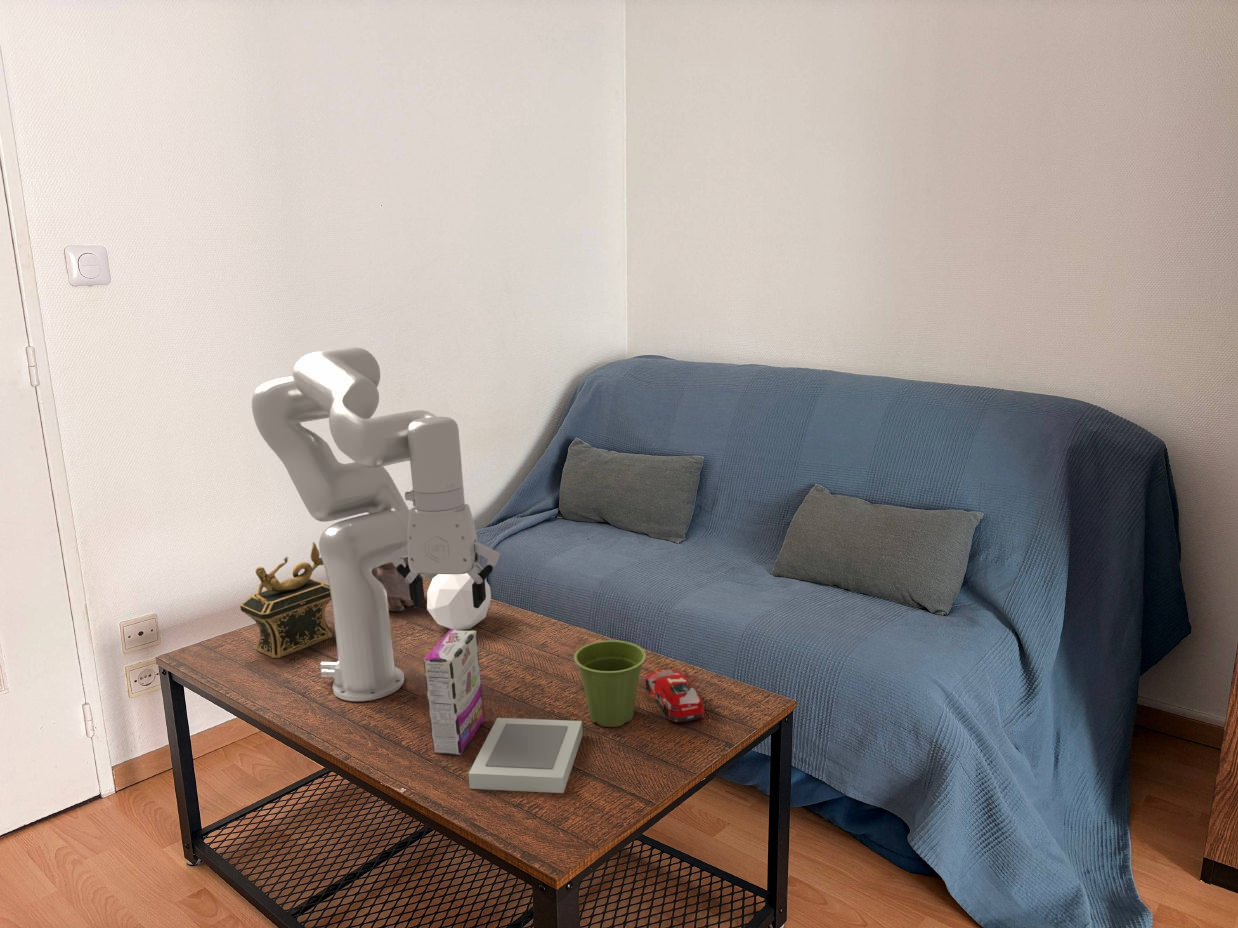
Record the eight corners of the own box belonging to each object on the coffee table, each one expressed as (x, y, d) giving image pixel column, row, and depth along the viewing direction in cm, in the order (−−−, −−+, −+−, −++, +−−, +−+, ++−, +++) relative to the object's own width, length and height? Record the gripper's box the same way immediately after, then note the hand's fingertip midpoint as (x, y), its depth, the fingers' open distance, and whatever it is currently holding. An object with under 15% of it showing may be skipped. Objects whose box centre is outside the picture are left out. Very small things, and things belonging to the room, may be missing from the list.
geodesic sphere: (400, 601, 191) (422, 558, 183) (449, 581, 201) (472, 540, 194) (441, 652, 186) (465, 611, 178) (489, 629, 196) (514, 589, 189)
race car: (642, 685, 164) (641, 660, 162) (677, 679, 165) (676, 654, 164) (670, 729, 148) (669, 701, 147) (709, 722, 150) (708, 695, 149)
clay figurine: (403, 594, 210) (393, 489, 204) (436, 601, 205) (426, 494, 199) (361, 614, 199) (349, 504, 193) (395, 622, 194) (383, 510, 188)
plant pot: (592, 742, 145) (589, 677, 142) (566, 709, 155) (563, 648, 153) (659, 725, 149) (658, 661, 146) (630, 694, 160) (628, 634, 157)
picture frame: (469, 788, 134) (468, 771, 133) (498, 731, 149) (497, 716, 148) (563, 792, 132) (562, 776, 131) (582, 734, 147) (581, 719, 146)
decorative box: (270, 664, 176) (257, 568, 172) (244, 651, 183) (231, 558, 178) (358, 629, 191) (348, 540, 187) (331, 618, 197) (321, 532, 193)
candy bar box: (457, 718, 154) (449, 628, 150) (485, 720, 153) (478, 629, 149) (430, 754, 143) (421, 657, 139) (461, 756, 142) (452, 659, 138)
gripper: (375, 505, 136) (386, 613, 140) (487, 505, 134) (496, 614, 137) (394, 492, 143) (404, 595, 147) (501, 492, 141) (508, 596, 145)
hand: (448, 604), depth 142 cm, fingers open, 9 cm apart
